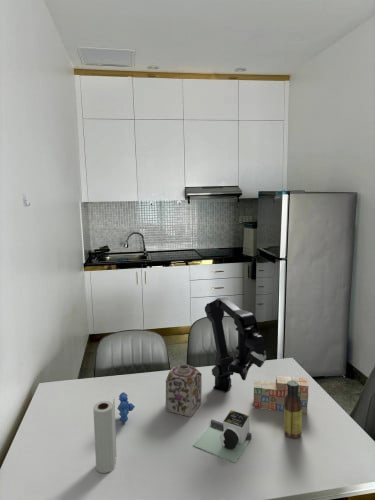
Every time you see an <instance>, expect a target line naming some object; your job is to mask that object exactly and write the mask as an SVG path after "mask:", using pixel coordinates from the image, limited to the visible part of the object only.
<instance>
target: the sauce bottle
mask: <svg viewBox="0 0 375 500" xmlns="http://www.w3.org/2000/svg"><path fill="white" fill-rule="evenodd" d="M287 387H288V392H287V393H288V394H287V395H286V397H285V399H284V411H283V417H284V418H283V419H284V420H283V430H284V433H285V435H286V436H287V437H289V438H290V439H291V438H292V439H298V438H300V437H302V431H303V414H302V406H301V404H302V402H301V400H300V398H299V395H298V388H299V383H298V382H296V381H288V382H287Z"/></svg>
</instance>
